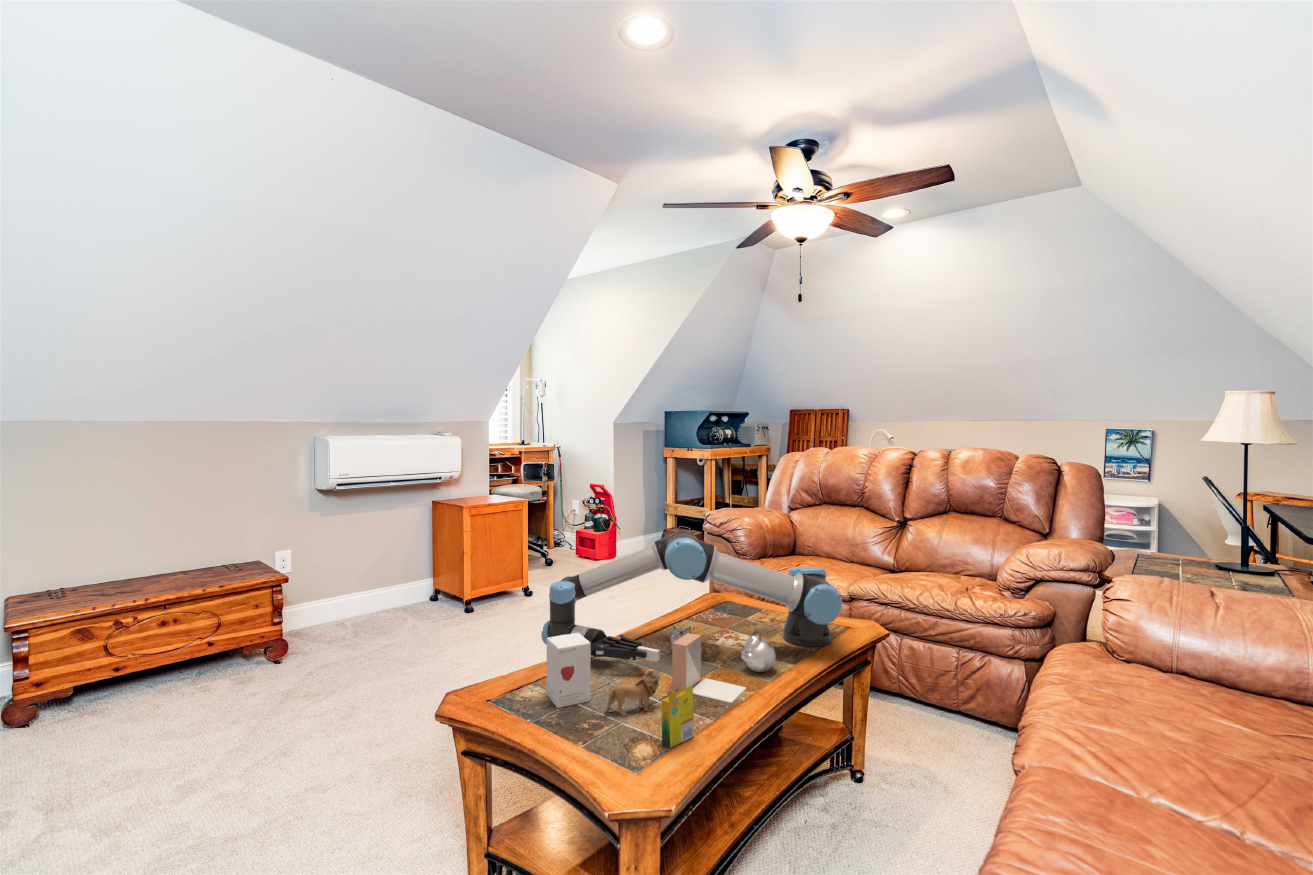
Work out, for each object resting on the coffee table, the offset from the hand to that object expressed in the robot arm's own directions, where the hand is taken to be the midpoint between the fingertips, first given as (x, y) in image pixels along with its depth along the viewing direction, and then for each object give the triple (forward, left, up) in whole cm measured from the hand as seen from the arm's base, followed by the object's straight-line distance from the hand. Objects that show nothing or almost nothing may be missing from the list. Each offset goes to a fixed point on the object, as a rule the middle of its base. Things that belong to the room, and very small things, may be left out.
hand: (658, 655), depth 169 cm
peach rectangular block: (-8, +4, -6) cm, 10 cm away
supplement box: (+23, +12, -6) cm, 27 cm away
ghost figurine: (-28, -5, -6) cm, 29 cm away
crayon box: (-4, +33, -6) cm, 34 cm away
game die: (-7, -18, -6) cm, 20 cm away
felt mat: (-15, +8, -6) cm, 19 cm away
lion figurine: (+6, +19, -6) cm, 21 cm away
